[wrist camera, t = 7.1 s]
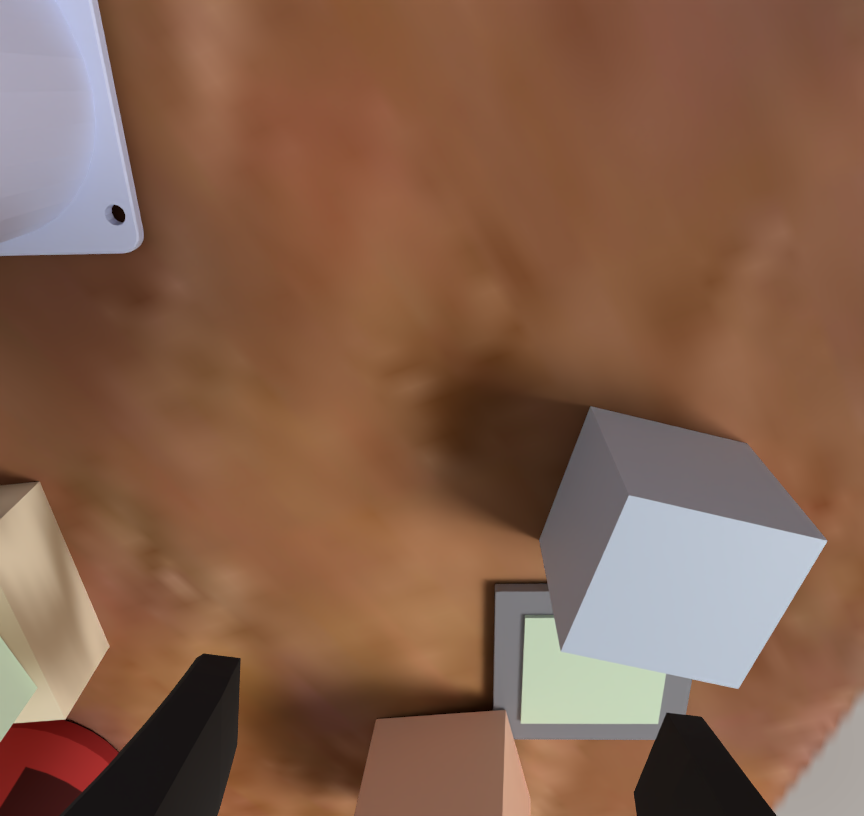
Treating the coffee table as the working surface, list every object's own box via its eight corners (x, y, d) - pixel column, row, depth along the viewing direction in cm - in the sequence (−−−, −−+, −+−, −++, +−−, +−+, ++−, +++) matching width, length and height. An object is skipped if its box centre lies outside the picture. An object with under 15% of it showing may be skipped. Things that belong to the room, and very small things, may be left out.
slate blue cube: (590, 404, 21) (629, 495, 16) (746, 442, 21) (827, 540, 16) (538, 538, 23) (560, 651, 18) (681, 570, 23) (738, 688, 19)
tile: (494, 583, 23) (495, 594, 23) (704, 583, 23) (709, 593, 23) (492, 730, 26) (493, 742, 26) (678, 730, 26) (682, 743, 26)
